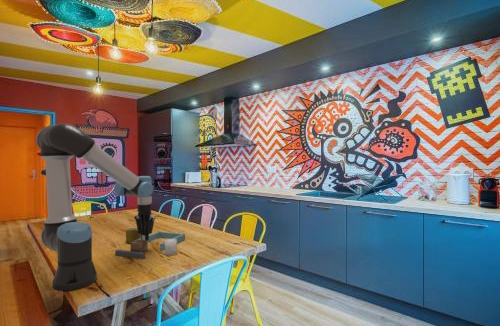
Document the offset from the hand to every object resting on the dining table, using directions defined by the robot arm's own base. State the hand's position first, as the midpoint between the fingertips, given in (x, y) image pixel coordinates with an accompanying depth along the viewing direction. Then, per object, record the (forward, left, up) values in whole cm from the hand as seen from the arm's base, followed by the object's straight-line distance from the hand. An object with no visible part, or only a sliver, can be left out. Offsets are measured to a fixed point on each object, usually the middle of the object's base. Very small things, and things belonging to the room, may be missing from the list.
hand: (145, 246), depth 149 cm
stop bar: (-11, 0, -2) cm, 11 cm away
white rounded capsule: (0, -17, -2) cm, 17 cm away
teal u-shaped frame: (+13, 0, -2) cm, 13 cm away
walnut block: (-5, 0, -2) cm, 5 cm away
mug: (+12, +18, -2) cm, 22 cm away
